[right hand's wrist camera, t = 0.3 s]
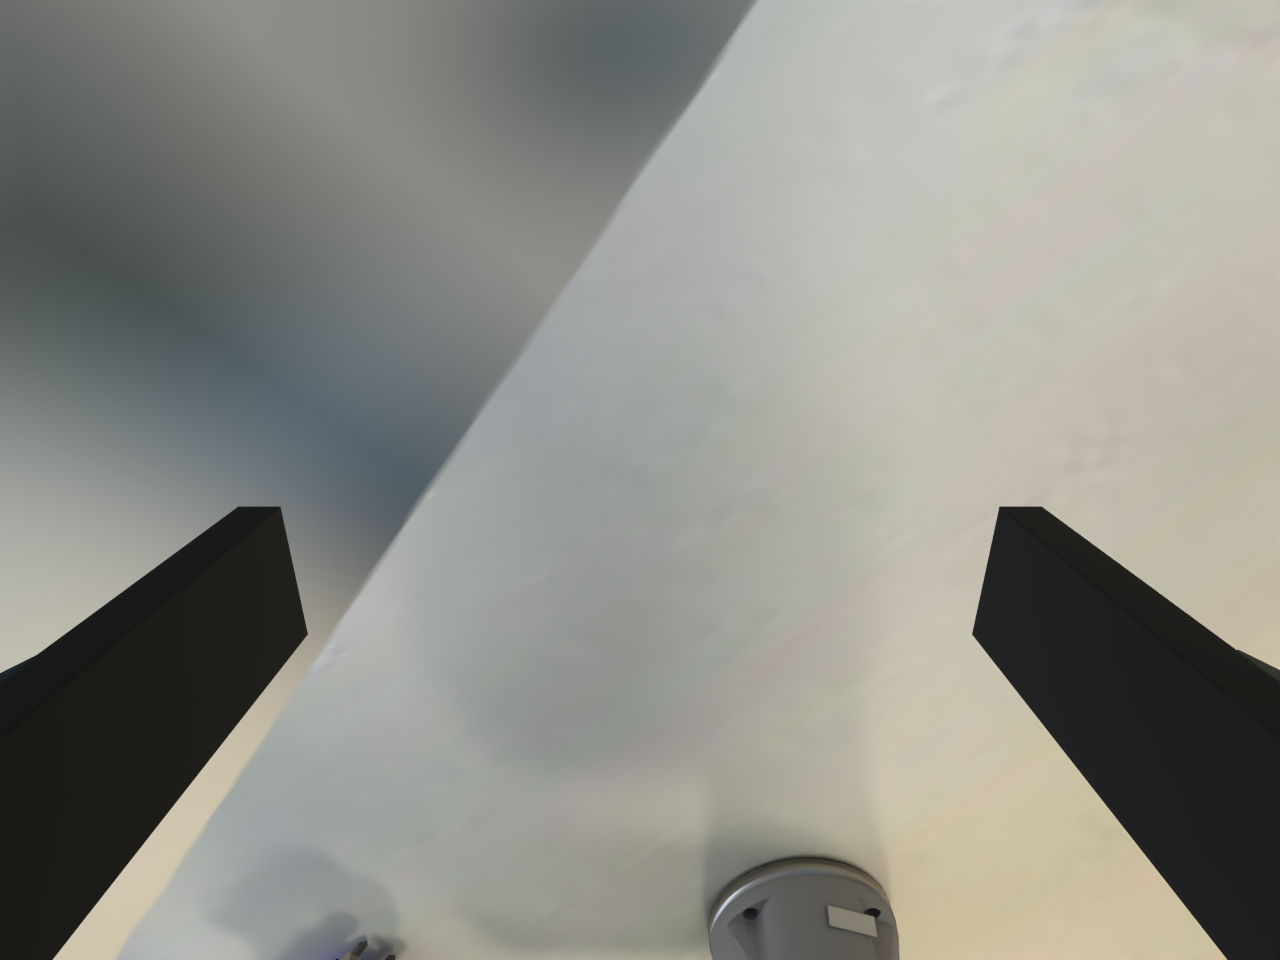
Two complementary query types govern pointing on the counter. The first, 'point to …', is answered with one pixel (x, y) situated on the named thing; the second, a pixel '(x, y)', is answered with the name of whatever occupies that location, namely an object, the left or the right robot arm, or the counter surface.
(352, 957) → the figurine character
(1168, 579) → the counter surface
